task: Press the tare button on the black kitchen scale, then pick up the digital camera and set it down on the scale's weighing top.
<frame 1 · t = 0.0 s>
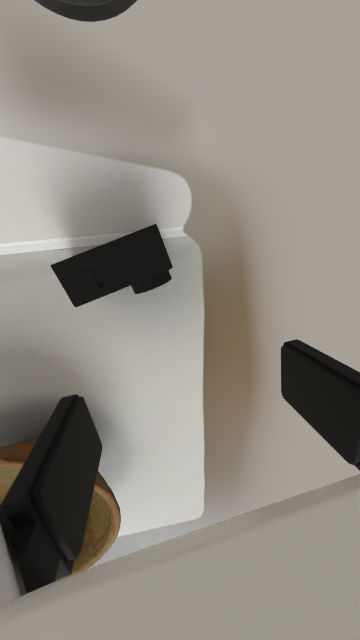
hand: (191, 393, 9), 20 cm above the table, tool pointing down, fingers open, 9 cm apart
bowl: (52, 455, 32), on the table
digital camera: (123, 268, 26), on the table
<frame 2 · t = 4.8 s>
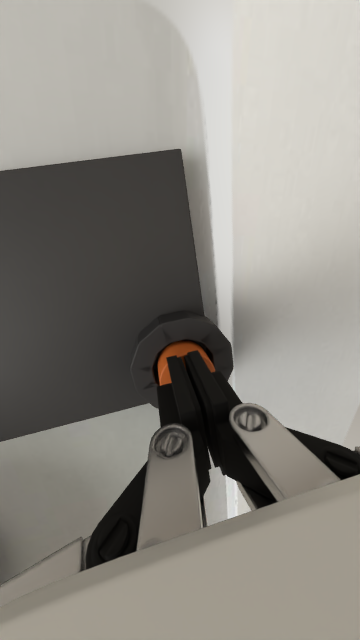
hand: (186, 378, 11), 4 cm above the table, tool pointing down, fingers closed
scale: (70, 311, 13), on the table
tare button: (185, 370, 11), point 3 cm above the table, slide at -0.1 cm, touching gripper
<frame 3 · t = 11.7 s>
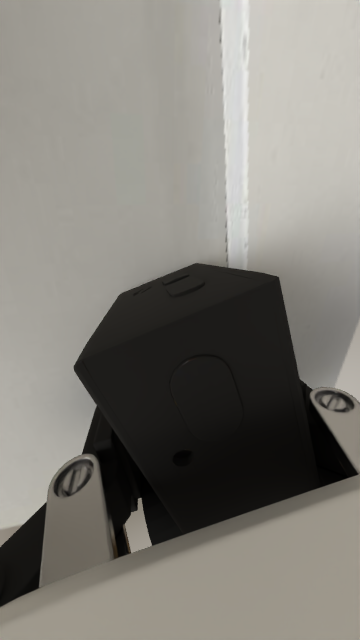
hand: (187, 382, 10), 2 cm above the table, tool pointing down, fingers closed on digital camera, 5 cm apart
digital camera: (180, 362, 12), on the table, touching gripper
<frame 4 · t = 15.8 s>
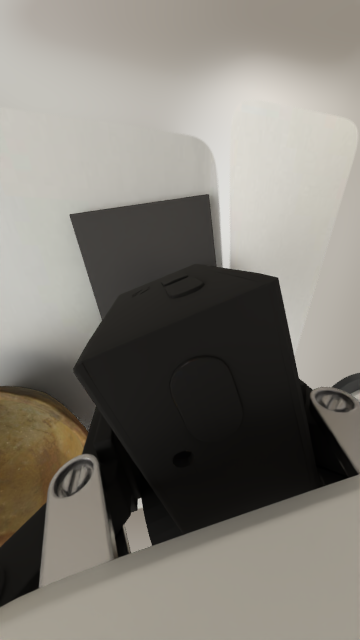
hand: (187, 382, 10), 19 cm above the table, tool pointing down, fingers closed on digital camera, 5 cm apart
scale: (153, 265, 27), on the table
bowl: (32, 416, 30), on the table
digital camera: (179, 363, 12), point 17 cm above the table, touching gripper
when the fingers open (3 cm above the table, at t = 20.3 s): digital camera stays where it is, resting on scale.
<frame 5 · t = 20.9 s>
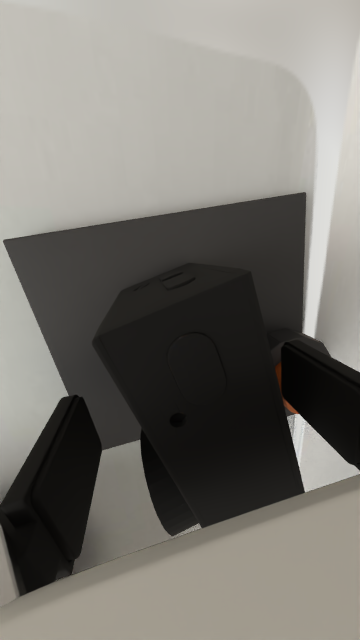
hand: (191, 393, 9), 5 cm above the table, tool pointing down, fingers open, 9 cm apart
scale: (184, 328, 14), on the table
tare button: (297, 384, 13), point 4 cm above the table, slide at 0.1 cm
digital camera: (176, 353, 13), point 1 cm above the table, touching scale
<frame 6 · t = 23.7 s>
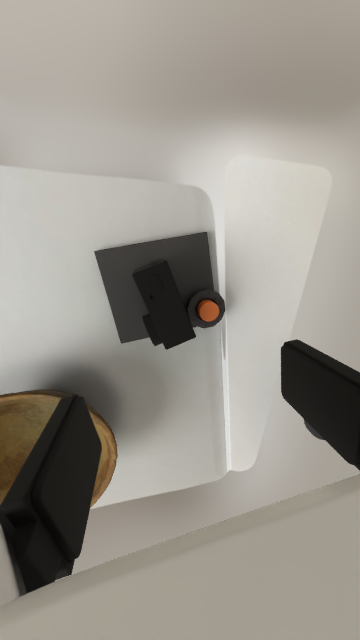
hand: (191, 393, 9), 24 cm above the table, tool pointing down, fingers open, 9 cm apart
scale: (161, 288, 32), on the table
tare button: (207, 310, 31), point 4 cm above the table, slide at 0.1 cm
bowl: (58, 414, 35), on the table
digital camera: (157, 298, 31), point 1 cm above the table, touching scale
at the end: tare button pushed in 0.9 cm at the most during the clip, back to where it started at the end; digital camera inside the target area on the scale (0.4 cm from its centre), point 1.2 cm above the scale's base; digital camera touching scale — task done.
